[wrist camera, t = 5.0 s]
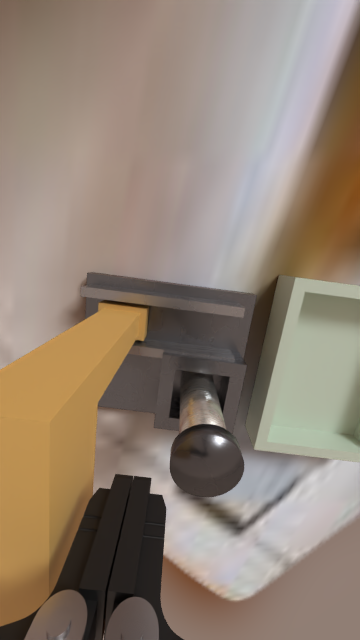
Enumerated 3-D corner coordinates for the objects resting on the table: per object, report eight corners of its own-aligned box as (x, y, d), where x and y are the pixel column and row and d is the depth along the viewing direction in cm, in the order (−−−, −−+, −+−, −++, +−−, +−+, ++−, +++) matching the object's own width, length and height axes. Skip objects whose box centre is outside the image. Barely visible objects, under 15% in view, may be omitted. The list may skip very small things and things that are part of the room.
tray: (278, 275, 22) (295, 277, 19) (406, 292, 22) (445, 297, 19) (244, 425, 26) (254, 449, 23) (354, 439, 26) (379, 464, 23)
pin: (178, 359, 23) (174, 431, 13) (222, 364, 23) (250, 440, 13) (172, 398, 24) (165, 492, 14) (214, 403, 24) (236, 501, 14)
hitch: (92, 272, 22) (72, 274, 18) (252, 293, 22) (267, 300, 19) (86, 397, 25) (69, 422, 21) (228, 415, 26) (236, 442, 22)
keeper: (104, 299, 21) (-87, 392, 6) (149, 305, 21) (68, 411, 6) (99, 392, 23) (-53, 628, 8) (140, 397, 24) (63, 640, 8)
